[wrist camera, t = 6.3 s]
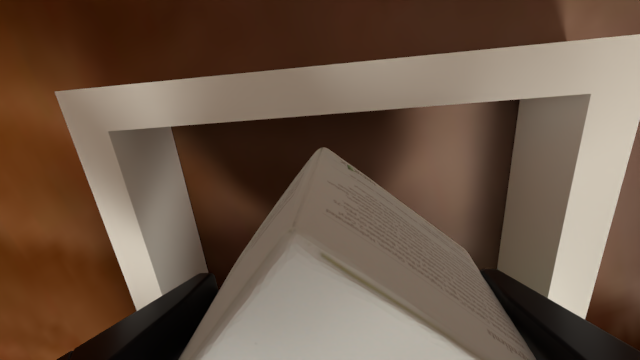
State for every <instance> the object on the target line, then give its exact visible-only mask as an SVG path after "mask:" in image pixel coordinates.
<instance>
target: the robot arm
mask: <svg viewBox="0 0 640 360" xmlns="http://www.w3.org/2000/svg"><path fill="white" fill-rule="evenodd" d="M480 272H481V274H482V276H483V277H484V279H485V280H486V282H487V283H488V285H489V286H490V288H491V289H492V291H493V292H494V294H495V296H496V298H497V299H498V301H499V302H500V304H501V305H502V307H503V308H504V310H505V311H506V313H507V315H508V316H509V318H510V319H511V321H512V322H513V324H514V325H515V327H516V329H517V330H518V332H519V333H520V335H521V336H522V338H523V339H524V341H525V342H526V344H527V346H528V347H529V349H530V350H531V352H532V353H533V355H534V357H535V358H536V360H640V351H639V350H637V349H635V348H633V347H632V346H630V345H628V344H626V343H625V342H623V341H621V340H619V339H618V338H616V337H614V336H613V335H611V334H609V333H607V332H606V331H604V330H602V329H600V328H599V327H597V326H595V325H593V324H592V323H590V322H588V321H586V320H585V319H583V318H581V317H580V316H578V315H576V314H574V313H573V312H571V311H569V310H567V309H566V308H564V307H562V306H560V305H559V304H557V303H555V302H553V301H552V300H550V299H548V298H547V297H545V296H543V295H541V294H540V293H538V292H536V291H534V290H533V289H531V288H529V287H527V286H526V285H524V284H522V283H520V282H519V281H517V280H515V279H514V278H512V277H510V276H508V275H507V274H505V273H503V272H501V271H500V270H498V269H482V270H480ZM218 292H219V291H218V287H217V283H216V279H215V276H214V274H213V273H199V274H197V275H196V276H194V277H192V278H191V279H189V280H187V281H186V282H184V283H182V284H181V285H179V286H177V287H176V288H174V289H172V290H171V291H169V292H167V293H166V294H164V295H163V296H161V297H159V298H158V299H156V300H154V301H153V302H151V303H149V304H148V305H146V306H144V307H143V308H141V309H139V310H138V311H136V312H134V313H133V314H131V315H130V316H128V317H126V318H125V319H123V320H121V321H120V322H118V323H116V324H115V325H113V326H111V327H110V328H108V329H106V330H105V331H103V332H101V333H100V334H98V335H97V336H95V337H93V338H92V339H90V340H88V341H87V342H85V343H83V344H82V345H80V346H78V347H77V348H75V349H74V351H70V352H68V353H67V354H65V355H63V356H62V357H60V358H59V359H57V360H178V359H179V358H180V356H181V354H182V353H183V351H184V349H185V348H186V346H187V344H188V343H189V341H190V339H191V338H192V336H193V334H194V332H195V331H196V329H197V327H198V326H199V324H200V322H201V320H202V319H203V317H204V315H205V314H206V312H207V310H208V309H209V307H210V305H211V304H212V302H213V300H214V298H215V297H216V295H217V293H218Z"/></svg>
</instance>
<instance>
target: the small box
mask: <svg viewBox="0 0 640 360" xmlns="http://www.w3.org/2000/svg"><path fill="white" fill-rule="evenodd" d="M178 360H536V358H535V357H534V355H533V353H532V352H531V350H530V349H529V347H528V346H527V344H526V342H525V341H524V339H523V338H522V336H521V335H520V333H519V332H518V330H517V329H516V327H515V325H514V324H513V322H512V321H511V319H510V318H509V316H508V315H507V313H506V311H505V310H504V308H503V307H502V305H501V304H500V302H499V301H498V299H497V298H496V296H495V294H494V292H493V291H492V289H491V288H490V286H489V285H488V283H487V282H486V280H485V279H484V277H483V276H482V274H481V272H480V271H479V269H478V268H477V266H476V265H475V263H474V262H473V260H472V258H471V256H470V255H469V253H468V252H467V251H466V250H465V249H464V248H463V247H462V246H460V245H459V244H457V243H456V242H455V241H453V240H452V239H451V238H449V237H448V236H447V235H445V234H444V233H443V232H441V231H440V230H439V229H437V228H436V227H435V226H433V225H432V224H431V223H429V222H428V221H426V220H425V219H424V218H422V217H421V216H420V215H418V214H417V213H416V212H414V211H413V210H412V209H410V208H409V207H407V206H406V205H405V204H403V203H402V202H401V201H399V200H398V199H397V198H395V197H394V196H393V195H391V194H390V193H389V192H387V191H386V190H385V189H383V188H382V187H381V186H379V185H378V184H377V183H375V182H374V181H373V180H371V179H370V178H369V177H367V176H366V175H364V174H363V173H362V172H360V171H359V170H357V169H356V168H355V167H353V166H352V165H350V164H349V163H347V162H346V161H345V160H343V159H342V158H340V157H339V156H338V155H336V154H335V153H334V152H332V151H331V150H329V149H328V148H325V147H323V148H320V149H318V150H317V151H316V152H315V153H314V154H313V155H312V157H311V158H310V159H309V160H308V162H307V163H306V164H305V166H304V167H303V168H302V169H301V171H300V172H299V173H298V175H297V176H296V177H295V179H294V180H293V182H292V183H291V184H290V186H289V187H288V188H287V190H286V191H285V192H284V194H283V195H282V197H281V198H280V199H279V201H278V202H277V203H276V205H275V206H274V208H273V209H272V210H271V212H270V213H269V215H268V216H267V217H266V219H265V220H264V222H263V223H262V224H261V226H260V227H259V229H258V230H257V232H256V233H255V235H254V236H253V237H252V239H251V240H250V242H249V243H248V245H247V246H246V248H245V249H244V251H243V252H242V254H241V255H240V257H239V258H238V260H237V261H236V263H235V265H234V266H233V268H232V269H231V271H230V273H229V274H228V276H227V278H226V280H225V281H224V283H223V285H222V286H221V288H220V290H219V292H218V293H217V295H216V297H215V298H214V300H213V302H212V304H211V305H210V307H209V309H208V310H207V312H206V314H205V315H204V317H203V319H202V320H201V322H200V324H199V326H198V327H197V329H196V331H195V332H194V334H193V336H192V338H191V339H190V341H189V343H188V344H187V346H186V348H185V349H184V351H183V353H182V354H181V356H180V358H179V359H178Z"/></svg>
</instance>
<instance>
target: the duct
mask: <svg viewBox="0 0 640 360" xmlns="http://www.w3.org/2000/svg"><path fill="white" fill-rule="evenodd" d="M55 94H56V97H57V100H58V102H59V105H60V108H61V110H62V113H63V116H64V118H65V121H66V124H67V126H68V129H69V132H70V134H71V137H72V140H73V142H74V145H75V147H76V150H77V153H78V155H79V158H80V161H81V163H82V166H83V169H84V171H85V174H86V177H87V179H88V182H89V185H90V187H91V190H92V193H93V195H94V198H95V201H96V203H97V206H98V209H99V211H100V214H101V217H102V219H103V222H104V225H105V227H106V230H107V233H108V235H109V238H110V241H111V243H112V246H113V249H114V251H115V254H116V257H117V259H118V262H119V265H120V267H121V270H122V273H123V275H124V278H125V281H126V283H127V286H128V289H129V291H130V294H131V297H132V299H133V302H134V305H135V307H136V310H137V311H138V310H139V309H141V308H143V307H144V306H146V305H148V304H149V303H151V302H153V301H154V300H156V299H158V298H159V297H161V296H163V295H164V294H166V293H167V292H169V291H171V290H172V289H174V288H176V287H177V286H179V285H181V284H182V283H184V282H186V281H187V280H189V279H191V278H192V277H194V276H196V275H197V274H199V273H208V269H207V265H206V261H205V258H204V254H203V250H202V246H201V242H200V238H199V234H198V230H197V227H196V223H195V219H194V215H193V211H192V207H191V203H190V199H189V196H188V192H187V188H186V184H185V180H184V176H183V172H182V168H181V165H180V161H179V157H178V153H177V149H176V145H175V141H174V137H173V134H172V130H171V126H184V125H197V124H209V123H222V122H235V121H248V120H261V119H273V118H286V117H299V116H312V115H325V114H337V113H350V112H363V111H376V110H389V109H401V108H414V107H427V106H440V105H453V104H465V103H478V102H491V101H504V100H517V99H520V103H519V110H518V118H517V125H516V132H515V140H514V147H513V155H512V162H511V169H510V177H509V184H508V192H507V199H506V206H505V214H504V221H503V229H502V236H501V243H500V251H499V258H498V266H497V269H498V270H500V271H501V272H503V273H505V274H507V275H508V276H510V277H512V278H514V279H515V280H517V281H519V282H520V283H522V284H524V285H526V286H527V287H529V288H531V289H533V290H534V291H536V292H538V293H540V294H541V295H543V296H545V297H547V298H548V299H550V300H552V301H553V302H555V303H557V304H559V305H560V306H562V307H564V308H566V309H567V310H569V311H571V312H573V313H574V314H576V315H578V316H580V317H581V318H583V319H585V318H586V314H587V311H588V307H589V303H590V300H591V296H592V292H593V289H594V285H595V281H596V278H597V274H598V270H599V267H600V263H601V259H602V256H603V252H604V248H605V245H606V241H607V237H608V234H609V230H610V226H611V223H612V219H613V216H614V212H615V208H616V205H617V201H618V197H619V194H620V190H621V186H622V183H623V179H624V175H625V172H626V168H627V164H628V161H629V157H630V153H631V150H632V146H633V142H634V139H635V135H636V131H637V128H638V124H639V120H640V34H638V35H628V36H618V37H607V38H597V39H587V40H577V41H567V42H556V43H546V44H536V45H526V46H515V47H505V48H495V49H485V50H474V51H464V52H454V53H444V54H433V55H423V56H413V57H403V58H393V59H382V60H372V61H362V62H352V63H341V64H331V65H321V66H311V67H300V68H290V69H280V70H270V71H260V72H249V73H239V74H229V75H219V76H208V77H198V78H188V79H178V80H167V81H157V82H147V83H137V84H127V85H116V86H106V87H96V88H86V89H75V90H65V91H55Z"/></svg>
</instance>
